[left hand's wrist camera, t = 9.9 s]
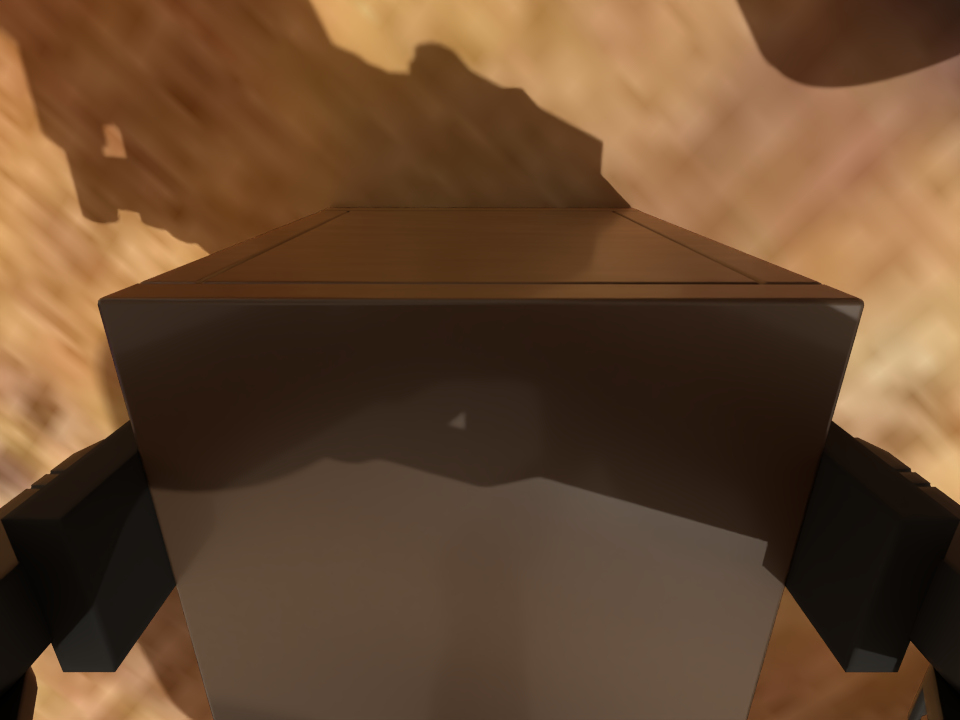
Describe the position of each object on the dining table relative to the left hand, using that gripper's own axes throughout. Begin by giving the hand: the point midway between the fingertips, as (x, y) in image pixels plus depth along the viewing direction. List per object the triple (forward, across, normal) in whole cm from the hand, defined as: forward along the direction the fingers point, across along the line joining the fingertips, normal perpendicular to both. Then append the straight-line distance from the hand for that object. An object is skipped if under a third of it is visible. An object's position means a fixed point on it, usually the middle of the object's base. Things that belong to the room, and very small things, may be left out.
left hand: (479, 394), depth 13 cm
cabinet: (+7, 0, -7) cm, 10 cm away
